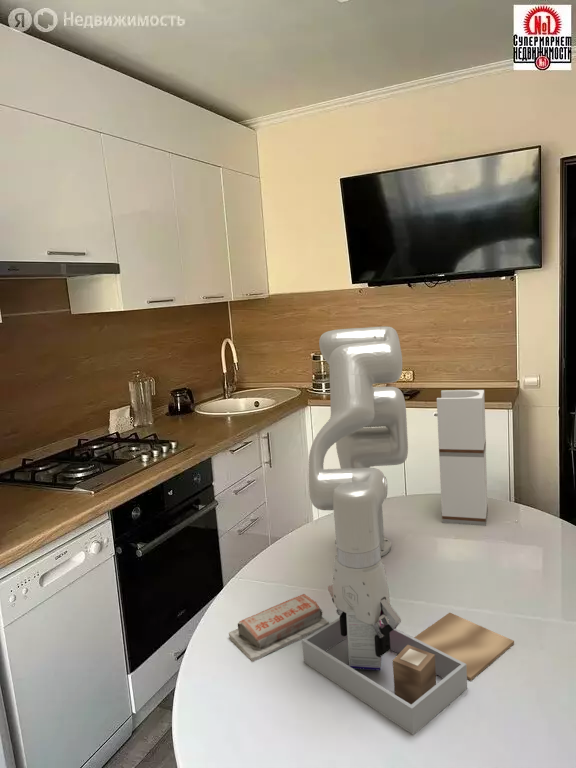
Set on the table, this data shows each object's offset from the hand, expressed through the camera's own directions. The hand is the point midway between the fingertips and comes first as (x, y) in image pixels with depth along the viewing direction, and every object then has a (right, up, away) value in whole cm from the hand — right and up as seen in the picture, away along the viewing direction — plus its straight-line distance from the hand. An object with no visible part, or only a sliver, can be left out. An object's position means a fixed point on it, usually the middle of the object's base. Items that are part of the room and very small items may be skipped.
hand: (365, 642), depth 107 cm
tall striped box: (+36, +9, +59) cm, 70 cm away
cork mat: (+18, -2, +3) cm, 18 cm away
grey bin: (+3, -5, -3) cm, 6 cm away
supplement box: (0, -4, +1) cm, 4 cm away
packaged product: (-16, -4, +13) cm, 21 cm away
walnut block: (+7, -5, -8) cm, 12 cm away
